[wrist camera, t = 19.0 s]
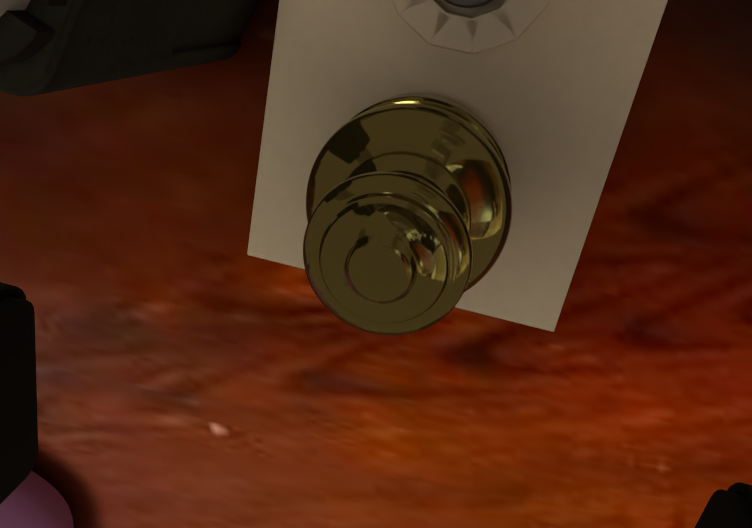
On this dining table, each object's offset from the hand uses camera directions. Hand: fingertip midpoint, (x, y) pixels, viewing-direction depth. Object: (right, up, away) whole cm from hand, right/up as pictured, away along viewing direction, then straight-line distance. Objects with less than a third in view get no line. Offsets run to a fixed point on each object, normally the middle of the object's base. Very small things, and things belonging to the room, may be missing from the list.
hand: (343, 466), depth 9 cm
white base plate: (+3, +9, +18) cm, 21 cm away
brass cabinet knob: (+2, +6, +18) cm, 19 cm away
